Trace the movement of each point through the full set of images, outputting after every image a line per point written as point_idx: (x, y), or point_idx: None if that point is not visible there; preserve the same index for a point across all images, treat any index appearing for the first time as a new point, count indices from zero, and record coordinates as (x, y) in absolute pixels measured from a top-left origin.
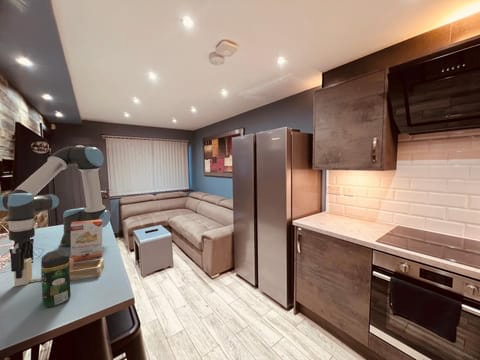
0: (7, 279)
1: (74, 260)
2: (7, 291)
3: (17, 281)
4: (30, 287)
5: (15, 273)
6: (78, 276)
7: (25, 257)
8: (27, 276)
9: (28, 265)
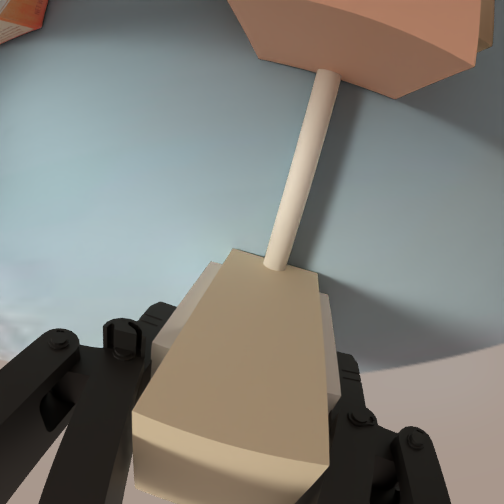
0: None
1: (43, 4)
2: None
3: None
4: (397, 248)
5: None
6: None
7: (120, 471)
8: (314, 307)
9: (280, 382)
